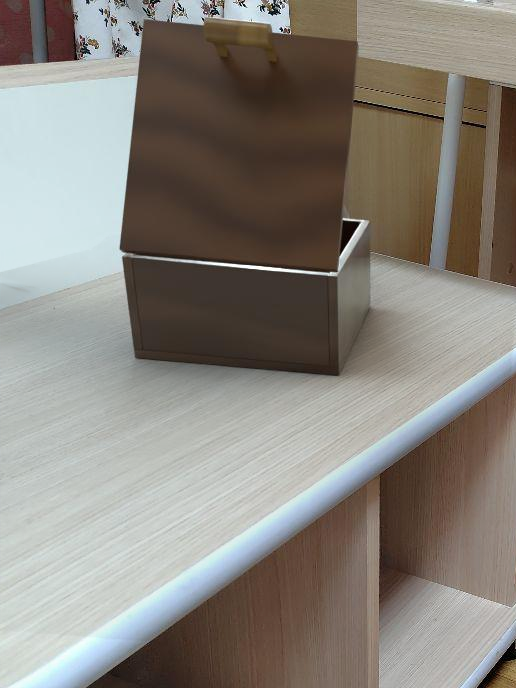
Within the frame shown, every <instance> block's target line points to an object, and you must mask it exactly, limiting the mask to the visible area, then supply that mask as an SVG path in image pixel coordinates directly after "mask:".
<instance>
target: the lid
mask: <svg viewBox="0 0 516 688" xmlns="http://www.w3.org/2000/svg"><path fill="white" fill-rule="evenodd" d="M359 49H360V48H359V42H358V41H357V40H349V39H339V38H332V37H331V38H330V37H321V36H320V37H319V36H311V35H301V34H292V33H284V32H283V33H282V32H274V31H273V26H272V25H271V23H270V22H261V21H252V20H251V21H250V20H242V19H234V18H233V19H231V18H222V17H213V16H206V17H204V20H203V24H195V23H186V22H177V21H176V22H175V21H165V20H158V19H148V18H144V19H143V23H142V32H141V42H140V51H139V60H138V62H139V63H138V69H137V79H136V87H135V98H134V106H133V107H134V108H133V117H132V124H131V125H132V126H131V136H130V144H129V145H130V146H129V155H128V164H127V173H126V183H125V192H124V200H123V201H124V202H123V210H122V220H121V231H120V240H119V247H118V248H119V251H120V252H121V253H124V254H126V253H132V254H143V255H153V256H164V257H175V258H186V259H196V260H207V261H218V262H229V263H240V264H250V265H261V266H272V267H283V268H294V269H304V270H315V271H326V272H337V273H338V267H339V256H340V245H341V235H342V224H343V213H344V206H345V202H346V201H345V200H346V191H347V190H346V189H347V180H348V178H347V177H348V167H349V159H350V158H349V157H350V146H351V136H352V135H351V134H352V125H353V124H352V123H353V113H354V103H355V91H356V80H357V71H358V61H359V59H358V58H359Z"/></svg>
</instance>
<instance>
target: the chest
mask: <svg viewBox="0 0 516 688" xmlns="http://www.w3.org/2000/svg"><path fill="white" fill-rule="evenodd" d="M121 261H122V269H123V276H124V282H125V283H124V285H125V291H126V301H127V309H128V314H129V325H130V330H131V339H132V345H133V346H132V347H133V352H134V353H133V354H134V358H136V359H145V360H157V361H159V360H160V361H169V362H179V363H180V362H181V363H193V364H203V365H215V366H227V367H237V368H238V367H239V368H248V369H249V368H250V369H260V370H272V371H284V372H294V373H306V374H318V375H327V376H329V375H330V376H339V375H340V374H341V371H342V369H343V367H344V365H345V362H346V360H347V358H348V356H349V353H350V351H351V350H352V347H353V346H354V343H355V341H356V338H357V336H358V335H359V332H360V330H361V327H362V325H363V323H364V321H365V319H366V317H367V314H368V312H369V310H370V308H371V220H367V219H356V218H350V219H347V218H343V224H342V235H341V245H340V256H339V267H338V273H337V272H326V271H315V270H304V269H294V268H283V267H272V266H261V265H250V264H240V263H229V262H218V261H207V260H196V259H186V258H175V257H164V256H153V255H143V254H132V253H124V255H122V256H121Z"/></svg>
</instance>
